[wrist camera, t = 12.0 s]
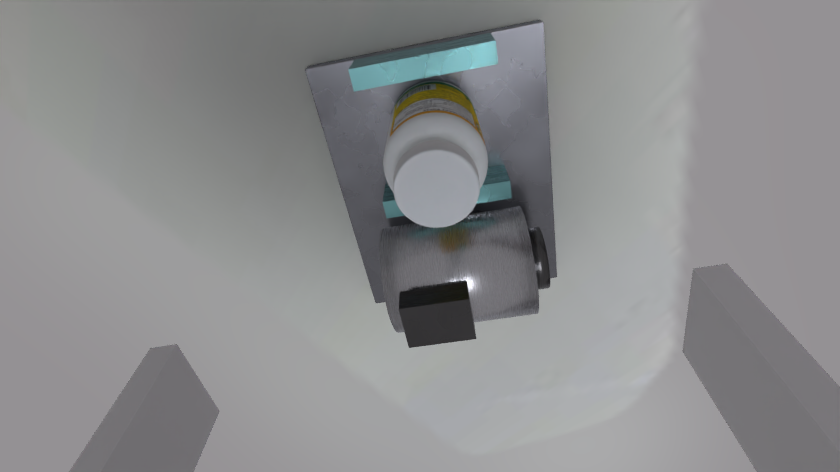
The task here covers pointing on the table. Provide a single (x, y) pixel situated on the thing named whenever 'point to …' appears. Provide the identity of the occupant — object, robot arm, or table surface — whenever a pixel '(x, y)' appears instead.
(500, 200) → the motor unit
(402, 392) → the table surface
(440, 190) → the supplement bottle
